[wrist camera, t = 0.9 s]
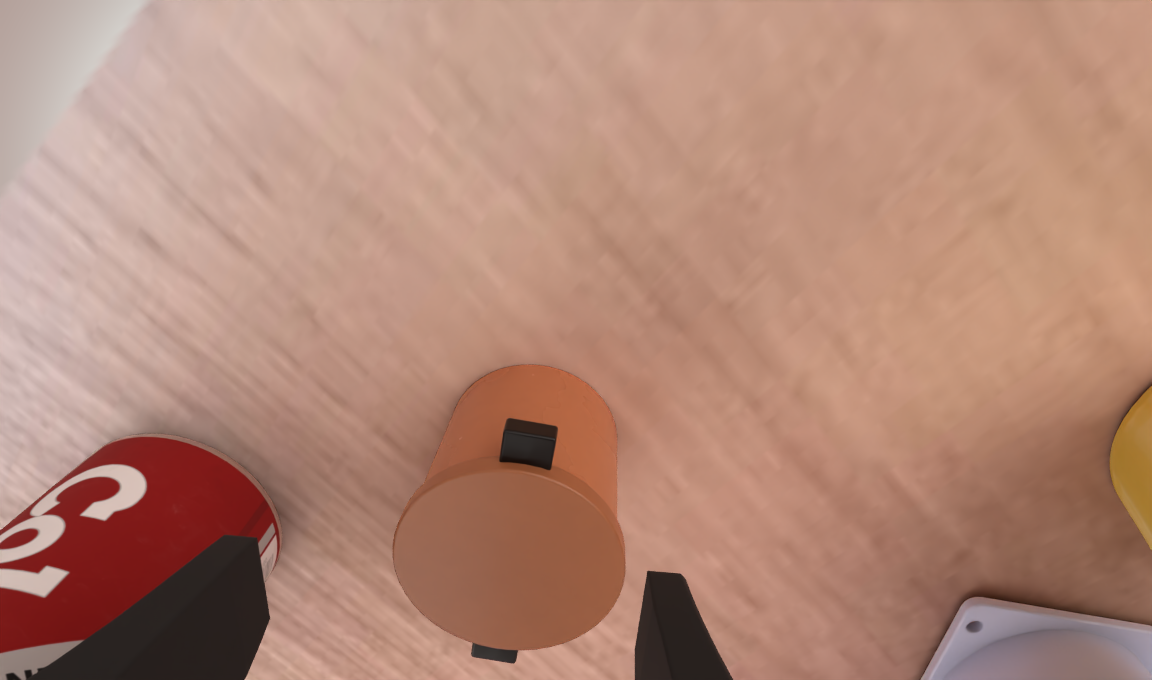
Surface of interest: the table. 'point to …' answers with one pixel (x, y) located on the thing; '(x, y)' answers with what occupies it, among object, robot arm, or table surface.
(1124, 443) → the flower pot
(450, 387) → the table surface
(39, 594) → the soda can
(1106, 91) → the table surface
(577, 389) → the copper pot
